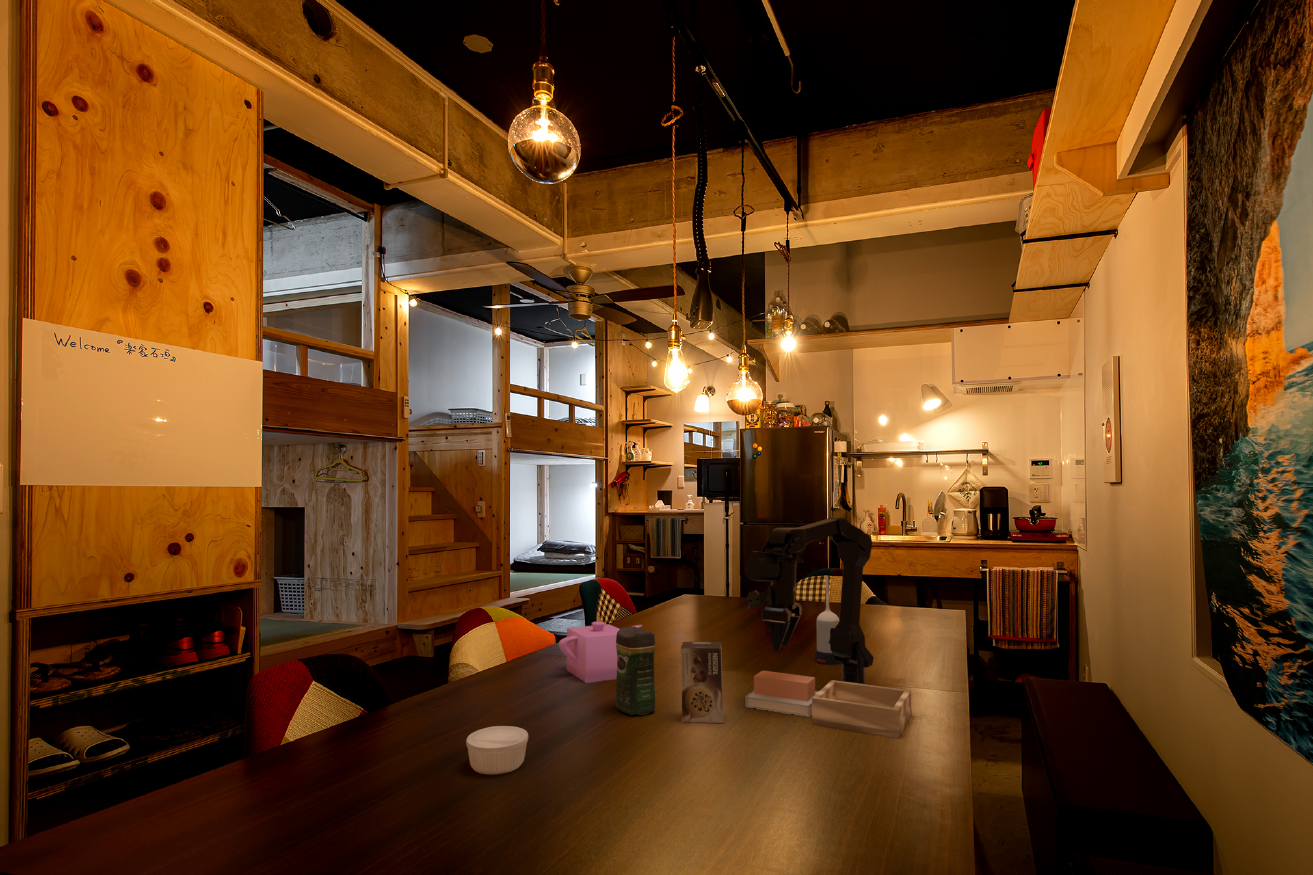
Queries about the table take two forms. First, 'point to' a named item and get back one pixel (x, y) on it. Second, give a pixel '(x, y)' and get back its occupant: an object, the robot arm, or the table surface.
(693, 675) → the coffee box
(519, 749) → the ramekin
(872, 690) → the shelf tray
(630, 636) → the coffee jar
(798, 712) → the book pile base
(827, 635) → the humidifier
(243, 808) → the table surface
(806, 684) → the terracotta rectangular block
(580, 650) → the teapot
